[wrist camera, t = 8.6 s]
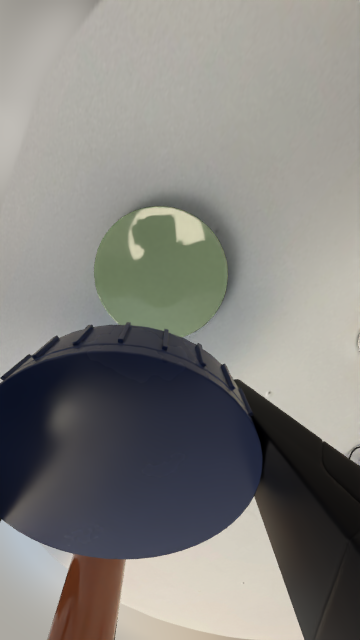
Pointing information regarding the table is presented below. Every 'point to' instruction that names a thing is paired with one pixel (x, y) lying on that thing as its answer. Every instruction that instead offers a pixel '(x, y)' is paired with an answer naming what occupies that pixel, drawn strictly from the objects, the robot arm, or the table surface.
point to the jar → (89, 600)
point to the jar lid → (124, 444)
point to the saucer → (161, 270)
